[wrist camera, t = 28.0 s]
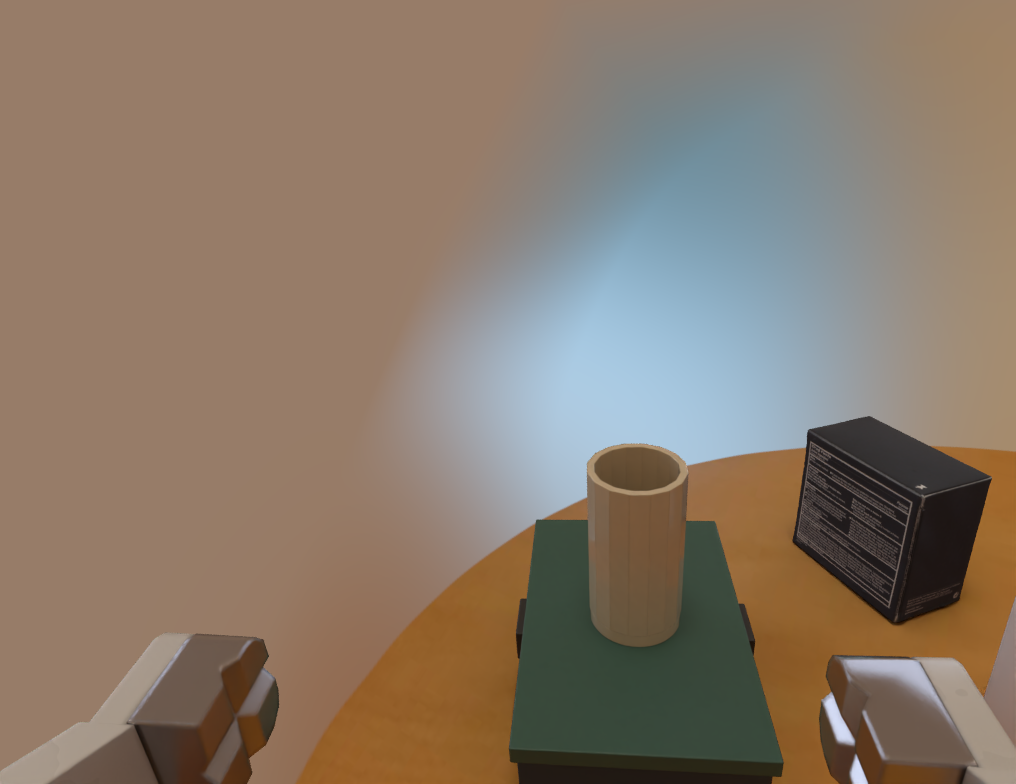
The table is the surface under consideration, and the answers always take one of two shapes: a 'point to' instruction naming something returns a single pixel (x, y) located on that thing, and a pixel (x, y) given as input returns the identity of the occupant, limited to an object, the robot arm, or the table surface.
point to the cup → (636, 542)
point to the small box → (889, 515)
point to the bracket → (1005, 680)
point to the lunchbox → (637, 679)
